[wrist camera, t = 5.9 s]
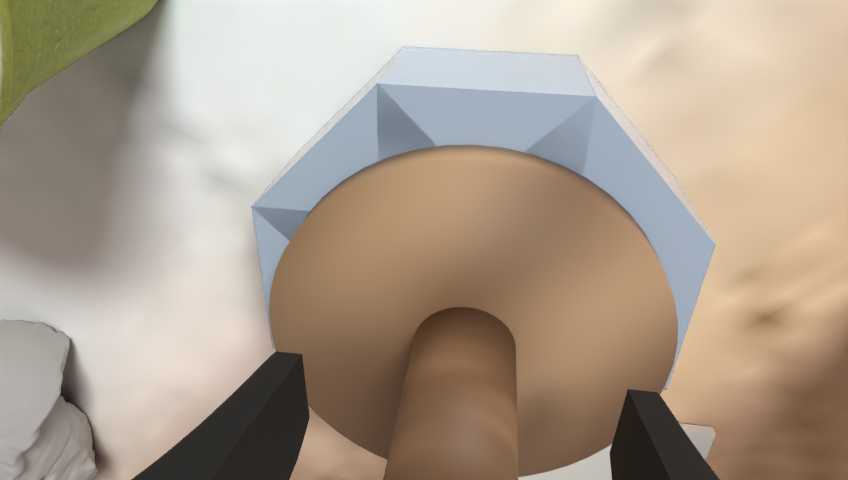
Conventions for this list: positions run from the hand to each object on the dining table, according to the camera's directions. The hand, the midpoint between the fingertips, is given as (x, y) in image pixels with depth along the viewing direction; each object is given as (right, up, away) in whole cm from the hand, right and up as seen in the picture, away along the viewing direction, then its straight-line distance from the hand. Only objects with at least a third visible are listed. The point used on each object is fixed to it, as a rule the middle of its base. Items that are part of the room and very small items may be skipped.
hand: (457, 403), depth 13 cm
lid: (0, +1, +4) cm, 4 cm away
